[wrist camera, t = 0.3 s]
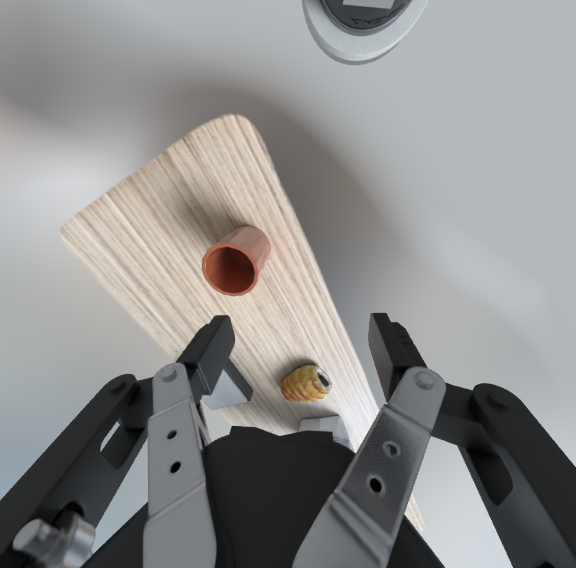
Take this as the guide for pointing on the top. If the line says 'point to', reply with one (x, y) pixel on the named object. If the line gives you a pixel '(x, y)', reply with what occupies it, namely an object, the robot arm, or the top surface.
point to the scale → (229, 389)
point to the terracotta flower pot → (237, 261)
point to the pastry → (306, 384)
